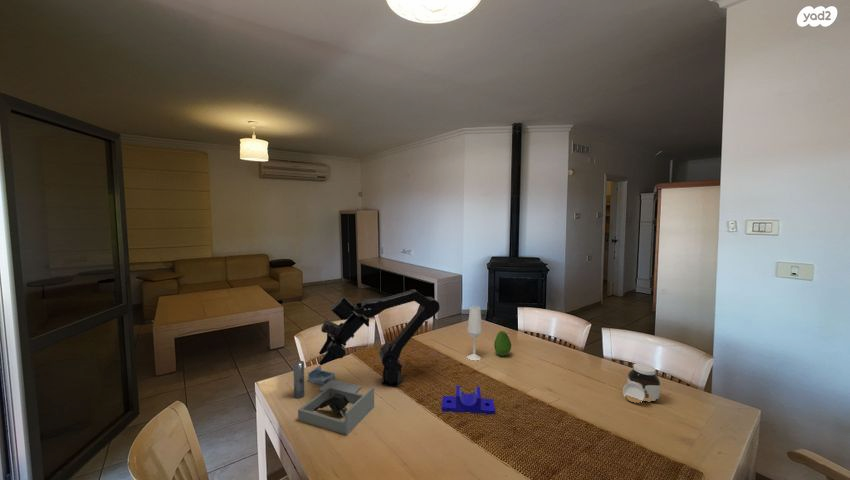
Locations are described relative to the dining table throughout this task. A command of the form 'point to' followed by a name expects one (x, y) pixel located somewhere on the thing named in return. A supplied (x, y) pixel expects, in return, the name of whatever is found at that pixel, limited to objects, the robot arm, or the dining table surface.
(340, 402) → the power plug
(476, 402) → the mounting bracket
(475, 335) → the champagne flute
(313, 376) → the blue gray open box
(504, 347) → the avocado
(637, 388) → the spread jar
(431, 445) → the dining table surface
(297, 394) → the dark gray cup
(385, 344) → the robot arm
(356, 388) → the mat
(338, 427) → the case
